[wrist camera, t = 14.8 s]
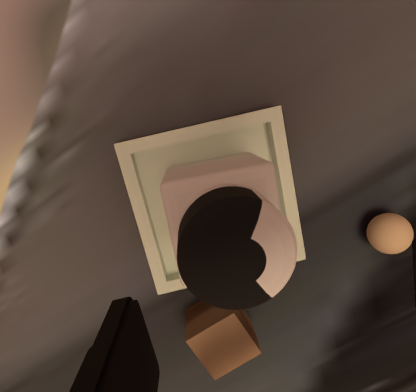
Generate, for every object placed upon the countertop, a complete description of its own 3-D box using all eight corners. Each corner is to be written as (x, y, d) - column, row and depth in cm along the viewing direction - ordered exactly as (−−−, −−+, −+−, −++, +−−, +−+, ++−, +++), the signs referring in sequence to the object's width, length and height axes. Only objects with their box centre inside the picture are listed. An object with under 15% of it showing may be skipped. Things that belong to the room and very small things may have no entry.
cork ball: (356, 213, 28) (380, 225, 25) (394, 204, 28) (422, 215, 25) (360, 248, 29) (383, 265, 26) (397, 239, 29) (424, 255, 26)
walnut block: (185, 308, 29) (185, 341, 25) (226, 284, 29) (233, 312, 25) (210, 343, 30) (215, 380, 26) (250, 319, 30) (261, 353, 26)
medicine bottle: (182, 248, 27) (180, 341, 16) (165, 167, 26) (149, 204, 14) (263, 232, 27) (320, 312, 16) (251, 151, 26) (306, 174, 14)
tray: (118, 142, 25) (113, 144, 24) (274, 106, 26) (280, 105, 24) (159, 284, 29) (158, 294, 27) (298, 250, 29) (305, 259, 27)
